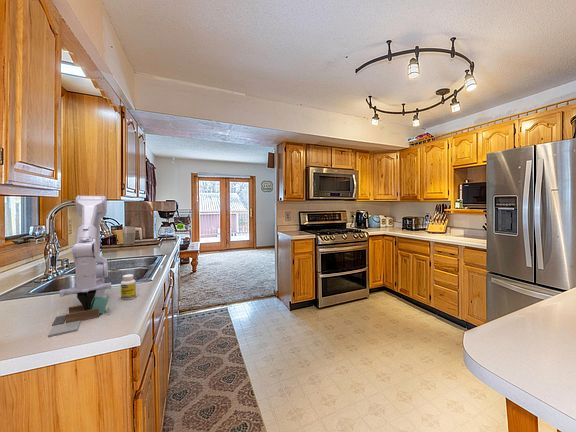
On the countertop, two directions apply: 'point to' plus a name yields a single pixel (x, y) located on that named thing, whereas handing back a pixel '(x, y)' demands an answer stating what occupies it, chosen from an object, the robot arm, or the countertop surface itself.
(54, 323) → the mat
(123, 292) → the supplement bottle
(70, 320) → the channel
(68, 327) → the tile
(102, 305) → the block
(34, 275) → the countertop surface
